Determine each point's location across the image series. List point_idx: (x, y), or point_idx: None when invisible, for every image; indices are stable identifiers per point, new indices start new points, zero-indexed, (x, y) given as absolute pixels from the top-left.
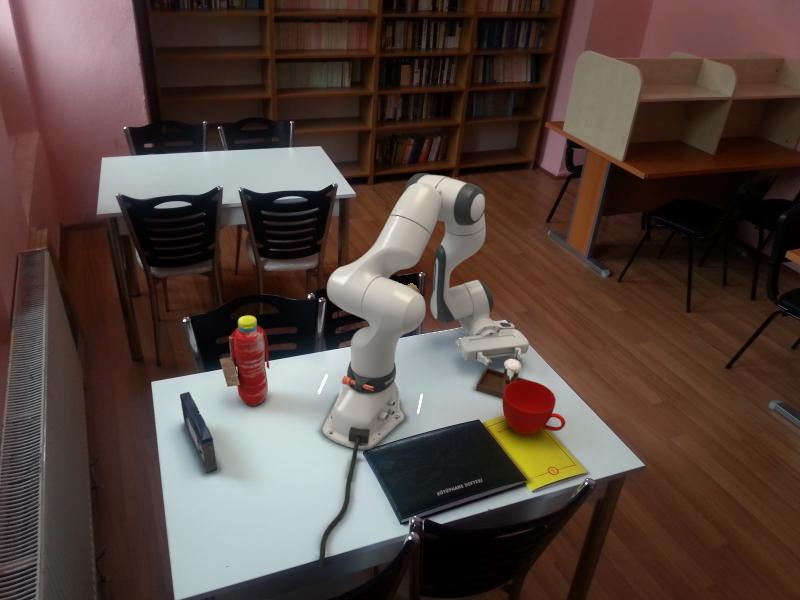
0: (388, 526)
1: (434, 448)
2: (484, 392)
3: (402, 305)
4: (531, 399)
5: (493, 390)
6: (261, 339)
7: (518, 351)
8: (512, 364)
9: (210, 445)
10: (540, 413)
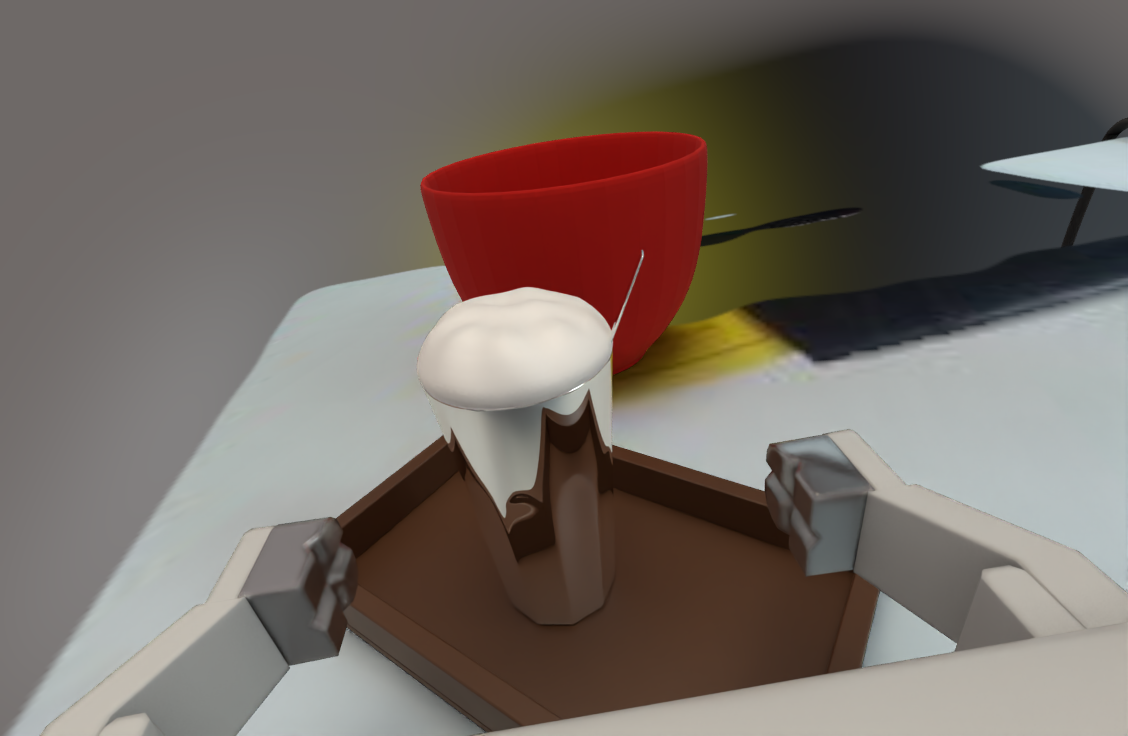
0: (1011, 165)
1: (999, 263)
2: None
3: None
4: None
5: (720, 479)
6: None
7: (170, 659)
8: (534, 292)
9: None
10: (556, 144)
